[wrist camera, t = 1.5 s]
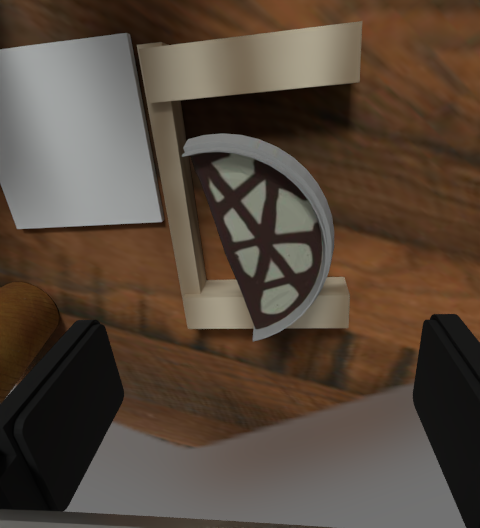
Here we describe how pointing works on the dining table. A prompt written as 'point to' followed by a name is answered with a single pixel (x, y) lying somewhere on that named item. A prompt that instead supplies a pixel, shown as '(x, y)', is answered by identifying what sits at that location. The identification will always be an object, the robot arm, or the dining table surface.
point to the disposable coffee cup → (22, 330)
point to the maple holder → (177, 167)
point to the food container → (266, 225)
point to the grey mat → (75, 135)
